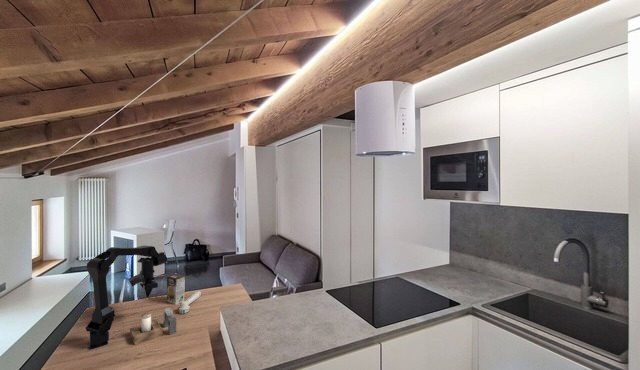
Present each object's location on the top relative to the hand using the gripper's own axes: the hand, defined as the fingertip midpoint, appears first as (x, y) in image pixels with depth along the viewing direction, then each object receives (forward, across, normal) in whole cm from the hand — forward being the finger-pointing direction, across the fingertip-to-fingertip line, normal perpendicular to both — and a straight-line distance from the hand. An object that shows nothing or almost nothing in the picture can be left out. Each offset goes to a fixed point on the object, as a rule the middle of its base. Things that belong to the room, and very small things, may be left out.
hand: (147, 296), depth 152 cm
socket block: (+12, +18, -4) cm, 22 cm away
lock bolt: (+5, +18, +6) cm, 20 cm away
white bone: (+12, -2, +24) cm, 27 cm away
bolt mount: (+12, +20, +6) cm, 24 cm away
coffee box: (+12, -13, +18) cm, 25 cm away
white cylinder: (+12, +18, -4) cm, 22 cm away
